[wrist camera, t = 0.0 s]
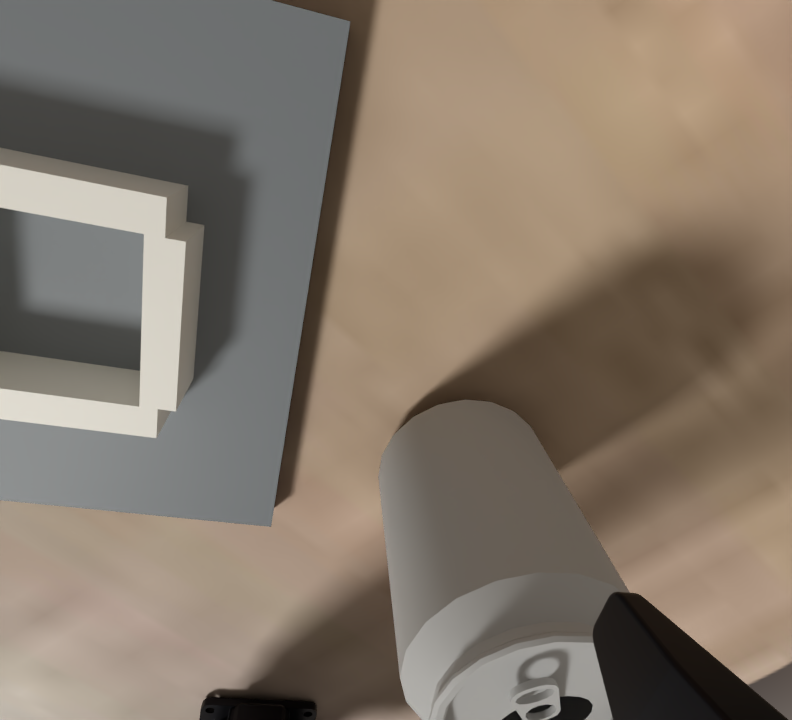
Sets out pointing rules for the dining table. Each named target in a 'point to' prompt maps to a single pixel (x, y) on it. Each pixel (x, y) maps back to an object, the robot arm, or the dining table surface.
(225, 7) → the holder
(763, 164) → the dining table surface
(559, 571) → the can
